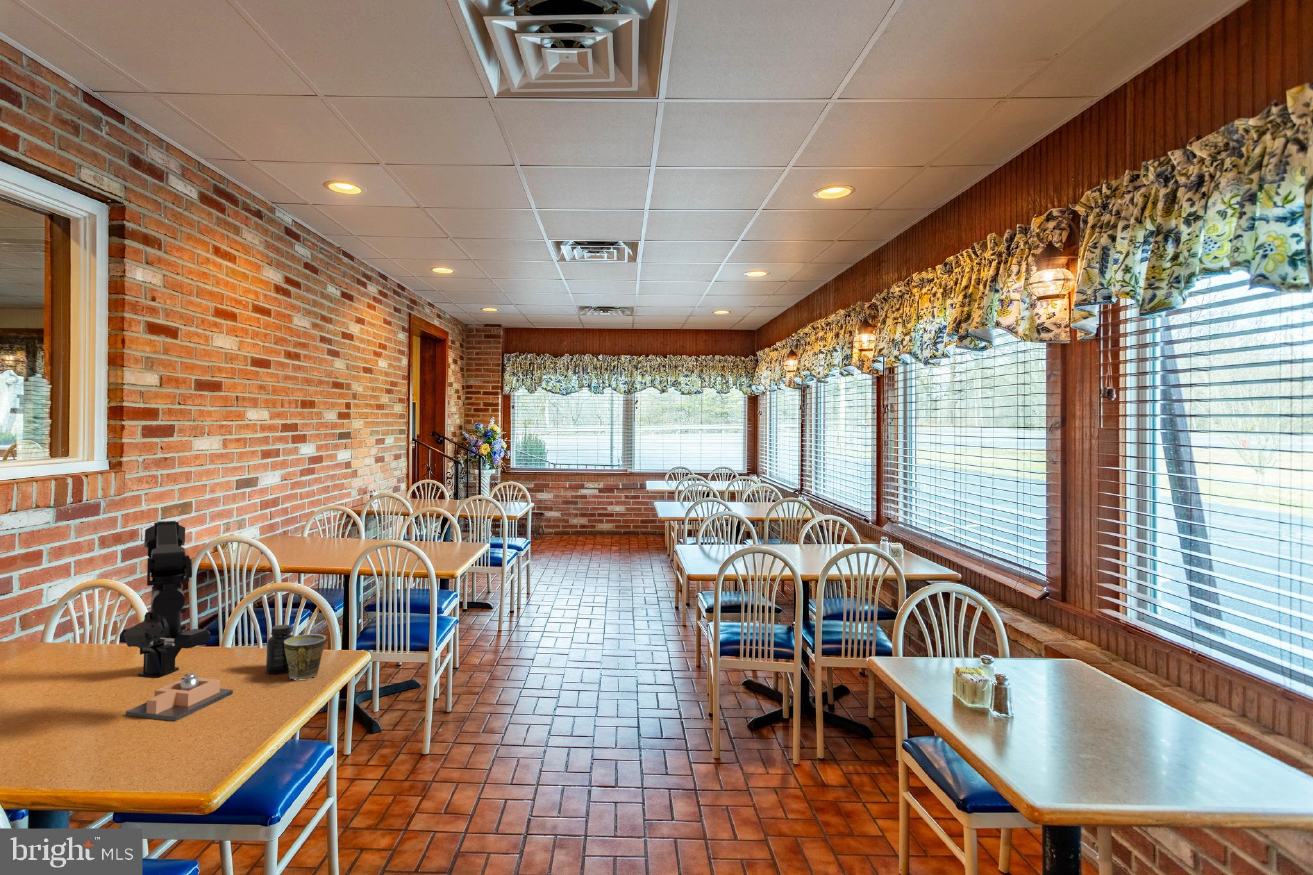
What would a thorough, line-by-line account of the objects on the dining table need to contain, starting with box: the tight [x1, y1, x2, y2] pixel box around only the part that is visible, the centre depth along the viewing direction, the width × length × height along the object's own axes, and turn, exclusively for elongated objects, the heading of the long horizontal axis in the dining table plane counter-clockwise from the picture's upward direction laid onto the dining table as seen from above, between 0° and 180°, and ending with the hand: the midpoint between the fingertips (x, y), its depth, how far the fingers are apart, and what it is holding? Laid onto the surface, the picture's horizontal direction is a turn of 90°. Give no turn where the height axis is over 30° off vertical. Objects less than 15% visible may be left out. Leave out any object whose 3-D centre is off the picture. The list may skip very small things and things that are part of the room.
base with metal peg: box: [125, 672, 234, 722], centre depth 152 cm, size 13×16×6 cm
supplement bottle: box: [265, 624, 295, 675], centre depth 176 cm, size 7×7×12 cm
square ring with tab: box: [146, 677, 221, 714], centre depth 152 cm, size 9×14×3 cm, turn 172°
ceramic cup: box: [284, 633, 327, 680], centre depth 171 cm, size 13×10×10 cm
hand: (163, 673), depth 148 cm, fingers closed
